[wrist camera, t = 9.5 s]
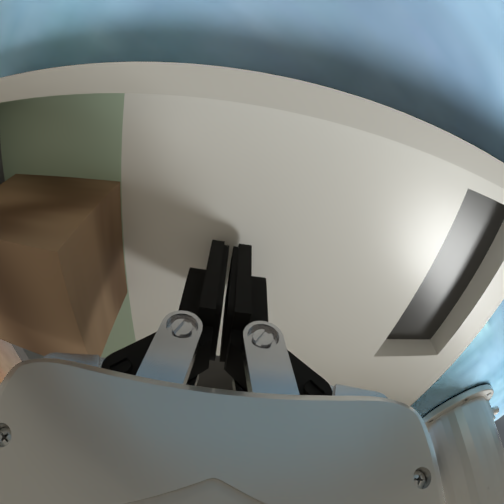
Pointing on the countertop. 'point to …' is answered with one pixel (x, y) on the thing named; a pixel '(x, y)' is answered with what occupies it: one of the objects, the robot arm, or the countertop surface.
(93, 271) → the block
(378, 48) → the countertop surface
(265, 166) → the box
